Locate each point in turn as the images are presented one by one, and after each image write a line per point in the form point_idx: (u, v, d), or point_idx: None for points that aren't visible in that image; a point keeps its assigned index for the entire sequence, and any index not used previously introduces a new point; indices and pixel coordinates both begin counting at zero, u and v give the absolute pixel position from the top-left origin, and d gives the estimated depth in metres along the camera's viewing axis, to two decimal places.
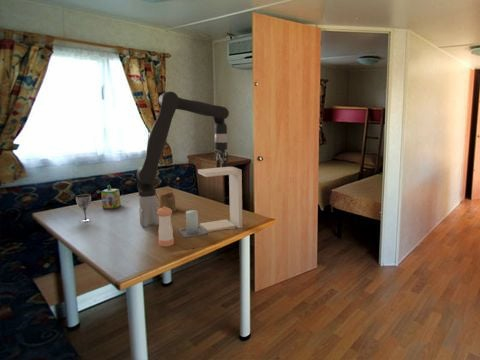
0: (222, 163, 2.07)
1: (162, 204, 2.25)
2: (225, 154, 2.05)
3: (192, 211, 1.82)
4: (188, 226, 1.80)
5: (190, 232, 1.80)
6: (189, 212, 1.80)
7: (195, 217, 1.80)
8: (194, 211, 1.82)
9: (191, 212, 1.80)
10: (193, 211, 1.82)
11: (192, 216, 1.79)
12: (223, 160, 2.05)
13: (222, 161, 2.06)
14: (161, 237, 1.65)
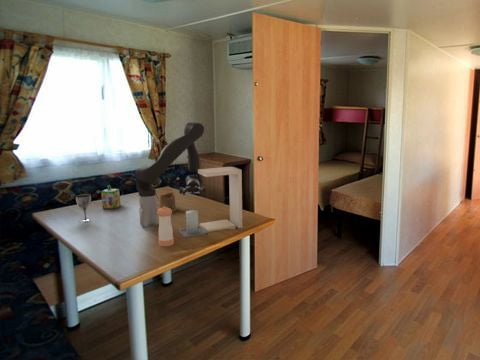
0: (200, 189, 1.94)
1: (162, 204, 2.25)
2: None
3: (192, 211, 1.82)
4: (188, 226, 1.80)
5: (190, 232, 1.80)
6: (189, 212, 1.80)
7: (195, 217, 1.80)
8: (194, 211, 1.82)
9: (191, 212, 1.80)
10: (193, 211, 1.82)
11: (192, 216, 1.79)
12: (204, 188, 1.96)
13: (201, 188, 1.96)
14: (161, 237, 1.65)
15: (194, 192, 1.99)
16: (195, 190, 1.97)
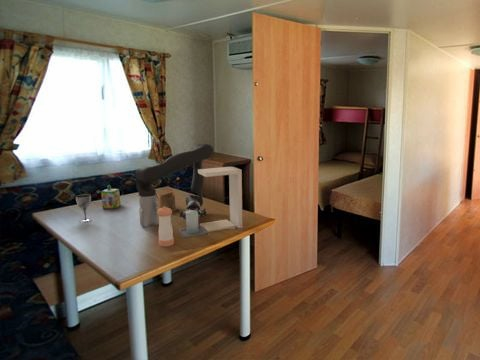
0: (201, 212, 1.91)
1: (162, 204, 2.25)
2: None
3: (192, 211, 1.82)
4: (188, 226, 1.80)
5: (190, 232, 1.80)
6: (189, 212, 1.80)
7: (195, 217, 1.80)
8: (194, 211, 1.82)
9: (191, 212, 1.80)
10: (193, 211, 1.82)
11: (192, 216, 1.79)
12: (204, 211, 1.93)
13: (202, 211, 1.93)
14: (161, 237, 1.65)
15: None
16: None
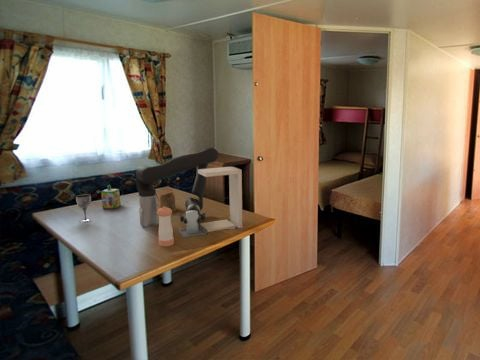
0: (199, 217, 1.83)
1: (162, 204, 2.25)
2: (205, 215, 1.89)
3: (192, 211, 1.82)
4: (188, 226, 1.80)
5: (190, 232, 1.80)
6: (189, 212, 1.80)
7: (195, 217, 1.79)
8: (194, 211, 1.82)
9: (191, 212, 1.80)
10: (193, 211, 1.82)
11: (192, 216, 1.79)
12: (203, 215, 1.85)
13: (200, 216, 1.84)
14: (161, 237, 1.65)
15: None
16: None
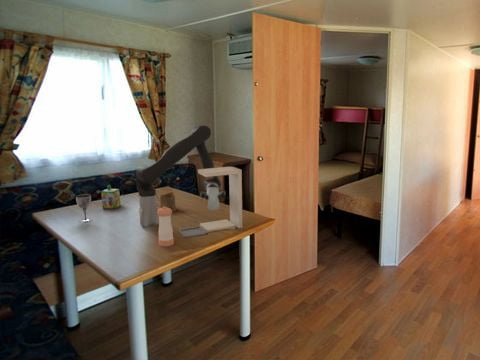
0: (219, 194, 1.89)
1: (162, 204, 2.25)
2: None
3: (213, 188, 1.87)
4: (209, 202, 1.86)
5: (211, 208, 1.86)
6: (210, 188, 1.86)
7: (216, 193, 1.85)
8: (215, 188, 1.87)
9: (212, 188, 1.86)
10: (214, 188, 1.87)
11: (213, 192, 1.84)
12: (223, 192, 1.91)
13: (220, 193, 1.90)
14: (161, 237, 1.65)
15: None
16: None
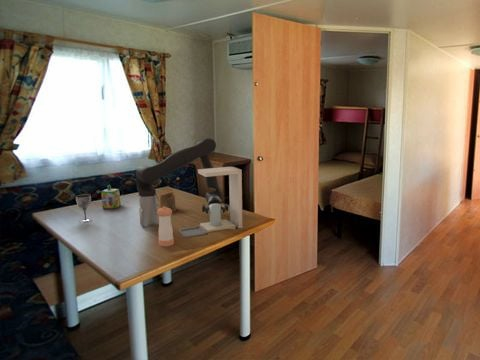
0: (223, 207, 1.92)
1: (162, 204, 2.25)
2: None
3: (215, 204, 1.90)
4: (212, 218, 1.89)
5: (213, 224, 1.89)
6: (212, 205, 1.89)
7: (218, 210, 1.88)
8: (217, 204, 1.90)
9: (214, 205, 1.89)
10: (216, 204, 1.90)
11: (215, 209, 1.87)
12: (226, 206, 1.94)
13: (224, 206, 1.93)
14: (161, 237, 1.65)
15: None
16: None
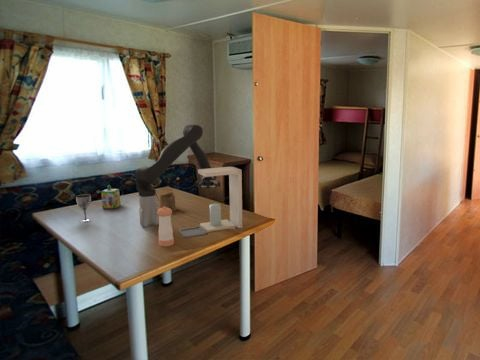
0: (216, 183, 2.03)
1: (162, 204, 2.25)
2: (219, 182, 2.09)
3: (215, 204, 1.90)
4: (212, 219, 1.88)
5: (213, 224, 1.89)
6: (212, 205, 1.88)
7: (218, 210, 1.88)
8: (217, 204, 1.90)
9: (214, 205, 1.88)
10: (216, 204, 1.90)
11: (215, 209, 1.87)
12: (219, 182, 2.05)
13: (216, 182, 2.05)
14: (161, 237, 1.65)
15: (209, 186, 2.08)
16: (210, 184, 2.06)
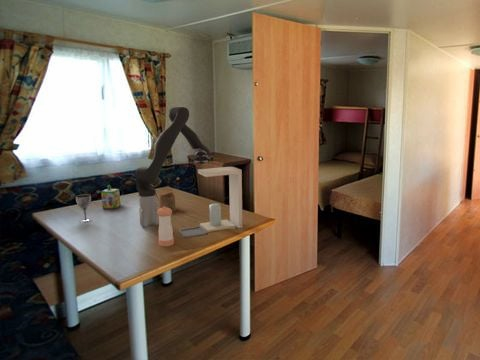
0: (208, 157, 2.03)
1: (162, 204, 2.25)
2: (212, 157, 2.08)
3: (215, 204, 1.90)
4: (212, 218, 1.89)
5: (214, 224, 1.89)
6: (212, 205, 1.89)
7: (218, 210, 1.88)
8: (217, 204, 1.90)
9: (214, 205, 1.89)
10: (216, 204, 1.90)
11: (215, 209, 1.87)
12: (212, 156, 2.05)
13: (209, 157, 2.04)
14: (161, 237, 1.65)
15: (202, 161, 2.08)
16: (203, 159, 2.05)
